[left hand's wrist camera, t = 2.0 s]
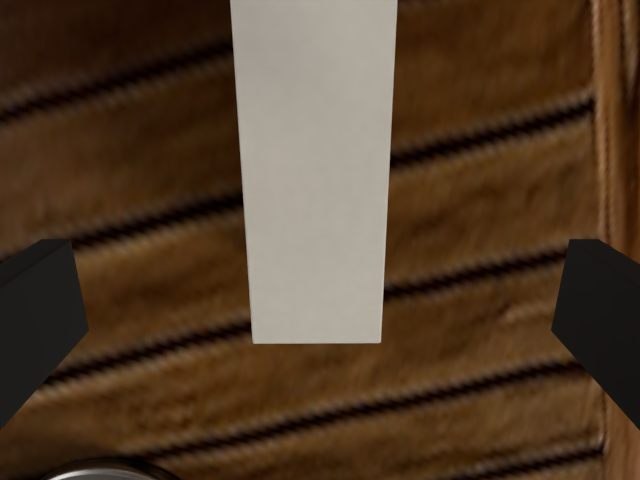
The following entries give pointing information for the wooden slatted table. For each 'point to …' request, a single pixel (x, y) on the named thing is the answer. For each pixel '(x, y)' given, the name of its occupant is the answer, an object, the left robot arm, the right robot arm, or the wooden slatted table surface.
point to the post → (315, 163)
